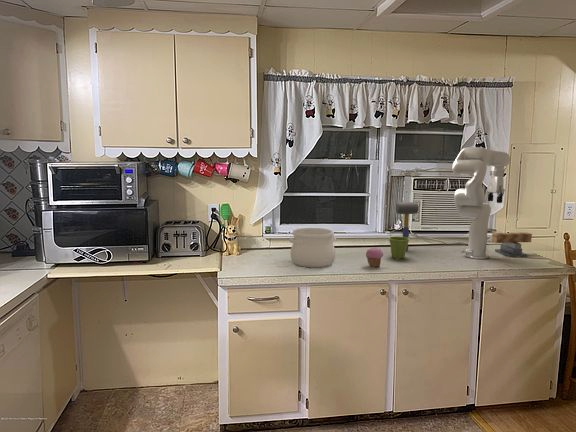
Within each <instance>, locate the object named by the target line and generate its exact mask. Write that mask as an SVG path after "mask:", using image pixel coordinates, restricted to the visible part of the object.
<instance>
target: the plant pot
mask: <svg viewBox="0 0 576 432" xmlns="http://www.w3.org/2000/svg"><path fill="white" fill-rule="evenodd" d="M410 240H411V238H406V237H403V236H389V237H388V241H389V245H390V253H391V258H393V259H398V260H400V259H405V257H406V253H407V250H406V249H407V245H408V246H409V241H410Z"/></svg>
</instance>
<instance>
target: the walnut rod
mask: <svg viewBox="0 0 576 432" xmlns="http://www.w3.org/2000/svg"><path fill="white" fill-rule="evenodd" d="M532 236H533V233H531V232H526V231H525V232H492V235H491V242H492V243H496V244H502V243H516V242H517V243H532V238H533V237H532Z"/></svg>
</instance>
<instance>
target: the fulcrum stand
mask: <svg viewBox="0 0 576 432" xmlns="http://www.w3.org/2000/svg"><path fill="white" fill-rule="evenodd" d="M494 253H498V254H499V255H502V256H506V257H508V258H521V257H522V258H527V257H528V254H527V253H526V252H523V248H522V243H521V242H516V243H501V244H500V247H499V248H497V249H494Z"/></svg>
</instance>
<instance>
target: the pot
mask: <svg viewBox="0 0 576 432" xmlns="http://www.w3.org/2000/svg"><path fill="white" fill-rule="evenodd" d="M292 235H293V237H290V238H289V243H291V244H292V246H291V248H290V260H291V261H292V262H293V264H295V265H297V266H299V267H302V266H303V267H302V268H311V267H318V268H324V267H329V266H331V265H332V264H333V263H334V262H335V259H336V254H337V252H336V248H335V246H334V242H336V241H337V236H336V235H335V232H334V230H331V229H328V228H320V227H304V228H296V229H293V231H292Z"/></svg>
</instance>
